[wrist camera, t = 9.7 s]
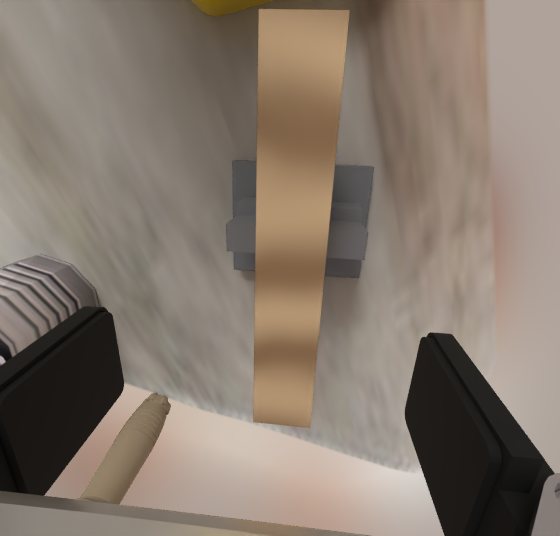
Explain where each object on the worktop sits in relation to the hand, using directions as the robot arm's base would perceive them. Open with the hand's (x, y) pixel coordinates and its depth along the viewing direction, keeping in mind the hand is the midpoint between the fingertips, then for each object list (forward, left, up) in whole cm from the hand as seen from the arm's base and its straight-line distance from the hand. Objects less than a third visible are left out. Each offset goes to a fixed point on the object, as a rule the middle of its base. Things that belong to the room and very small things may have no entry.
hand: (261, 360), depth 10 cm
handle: (+24, -16, -23) cm, 37 cm away
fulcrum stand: (0, 0, -22) cm, 22 cm away
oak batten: (0, 0, -14) cm, 14 cm away
